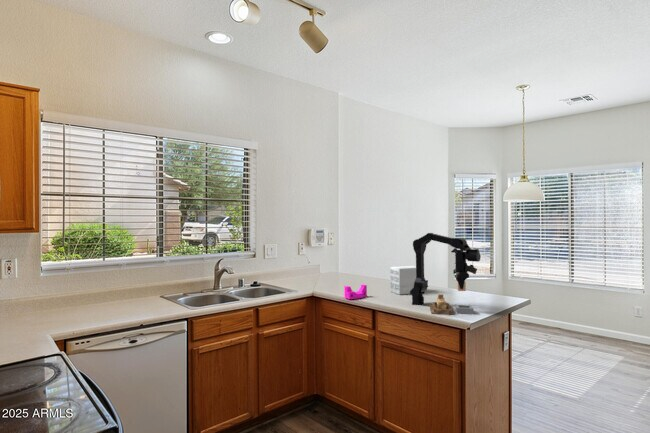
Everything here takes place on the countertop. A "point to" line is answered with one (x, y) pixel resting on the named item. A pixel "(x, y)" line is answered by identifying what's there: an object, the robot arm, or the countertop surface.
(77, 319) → the countertop surface
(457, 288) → the tail block
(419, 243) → the robot arm
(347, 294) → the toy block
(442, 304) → the fuselage
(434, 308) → the jig
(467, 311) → the tail socket
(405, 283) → the white drawer cabinet
